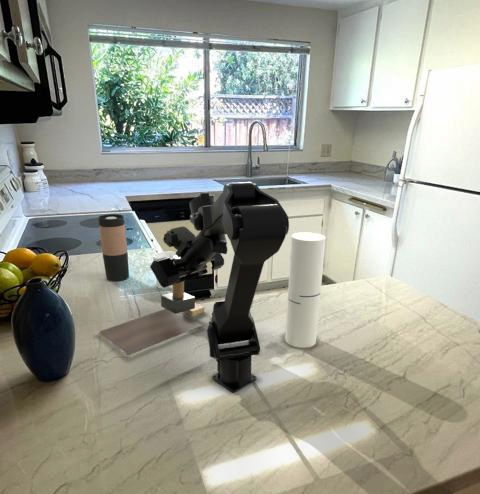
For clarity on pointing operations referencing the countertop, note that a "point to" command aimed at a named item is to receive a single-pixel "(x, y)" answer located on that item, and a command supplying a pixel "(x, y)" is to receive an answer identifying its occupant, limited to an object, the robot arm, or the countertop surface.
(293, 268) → the cylindrical container
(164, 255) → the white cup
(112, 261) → the travel mug
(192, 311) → the tan wooden block
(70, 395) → the countertop surface
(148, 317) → the cutting board
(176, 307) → the stamp
